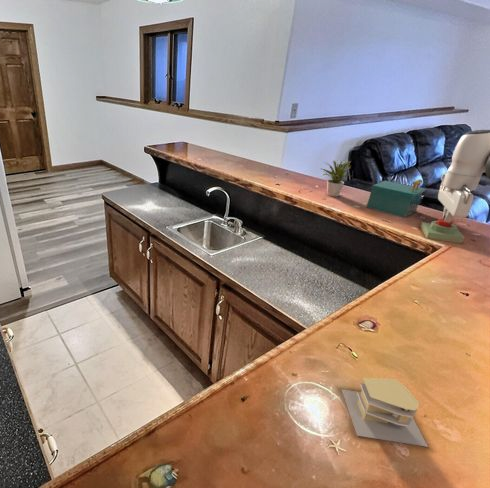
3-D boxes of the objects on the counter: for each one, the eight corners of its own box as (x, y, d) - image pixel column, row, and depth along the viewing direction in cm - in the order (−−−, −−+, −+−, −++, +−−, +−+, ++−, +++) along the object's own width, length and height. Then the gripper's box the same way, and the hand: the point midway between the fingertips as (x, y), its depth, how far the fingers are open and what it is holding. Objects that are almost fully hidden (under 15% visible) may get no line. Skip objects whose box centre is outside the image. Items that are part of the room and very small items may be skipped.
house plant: (328, 187, 172) (335, 154, 165) (355, 195, 162) (364, 159, 155) (311, 192, 165) (317, 158, 158) (338, 200, 155) (346, 164, 148)
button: (448, 224, 121) (450, 219, 121) (452, 228, 118) (454, 224, 117) (435, 222, 123) (436, 218, 122) (438, 226, 120) (439, 222, 119)
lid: (425, 190, 139) (429, 179, 137) (414, 196, 132) (418, 184, 130) (384, 182, 150) (387, 171, 148) (372, 187, 143) (375, 175, 141)
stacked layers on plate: (356, 435, 54) (365, 411, 52) (341, 389, 62) (348, 366, 60) (427, 447, 53) (440, 422, 50) (402, 398, 60) (412, 374, 58)
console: (453, 231, 124) (457, 221, 123) (461, 243, 116) (466, 232, 114) (420, 227, 128) (423, 217, 126) (426, 238, 120) (430, 227, 118)
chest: (416, 211, 143) (423, 190, 139) (404, 217, 137) (411, 196, 133) (378, 201, 154) (384, 182, 150) (366, 207, 147) (372, 187, 143)
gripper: (484, 191, 104) (467, 233, 110) (462, 175, 121) (448, 212, 127) (458, 189, 106) (443, 230, 112) (440, 173, 123) (428, 210, 129)
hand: (446, 221), depth 120 cm, fingers closed, pressing on button
